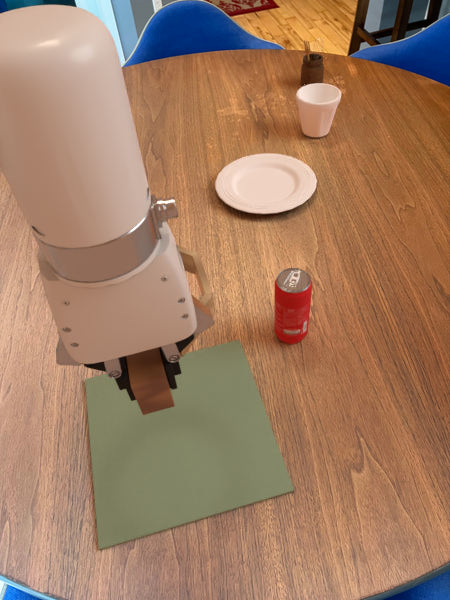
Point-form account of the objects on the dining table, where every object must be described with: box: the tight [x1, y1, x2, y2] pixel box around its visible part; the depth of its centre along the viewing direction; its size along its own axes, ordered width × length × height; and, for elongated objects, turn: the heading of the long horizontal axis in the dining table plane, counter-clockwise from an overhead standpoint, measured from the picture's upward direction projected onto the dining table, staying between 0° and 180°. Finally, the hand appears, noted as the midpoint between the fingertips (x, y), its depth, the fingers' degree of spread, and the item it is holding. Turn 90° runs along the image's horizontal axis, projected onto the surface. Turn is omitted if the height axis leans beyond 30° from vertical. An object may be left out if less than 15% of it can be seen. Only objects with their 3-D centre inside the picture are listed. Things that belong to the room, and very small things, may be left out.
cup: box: [295, 82, 342, 139], centre depth 109 cm, size 10×10×9 cm
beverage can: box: [273, 267, 313, 345], centre depth 70 cm, size 5×5×12 cm
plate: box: [214, 152, 318, 216], centre depth 99 cm, size 21×21×2 cm
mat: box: [84, 338, 295, 551], centre depth 65 cm, size 24×24×1 cm
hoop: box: [56, 244, 216, 415], centre depth 49 cm, size 16×21×5 cm
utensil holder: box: [300, 37, 325, 87], centre depth 124 cm, size 6×6×12 cm
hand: (151, 380), depth 44 cm, fingers closed on hoop, 3 cm apart
